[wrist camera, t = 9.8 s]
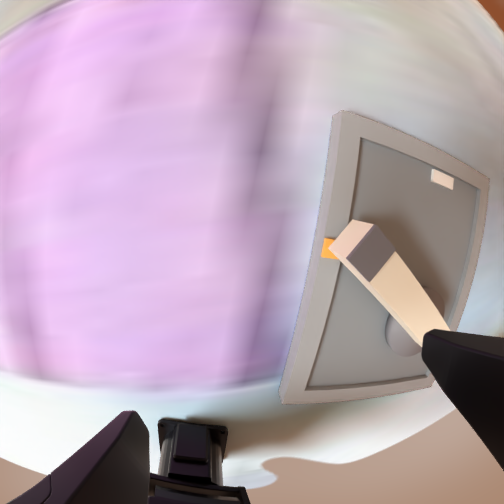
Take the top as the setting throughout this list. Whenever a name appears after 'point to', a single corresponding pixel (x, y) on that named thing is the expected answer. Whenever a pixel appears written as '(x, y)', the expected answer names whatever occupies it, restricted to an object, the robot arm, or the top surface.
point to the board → (407, 247)
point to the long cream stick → (390, 286)
